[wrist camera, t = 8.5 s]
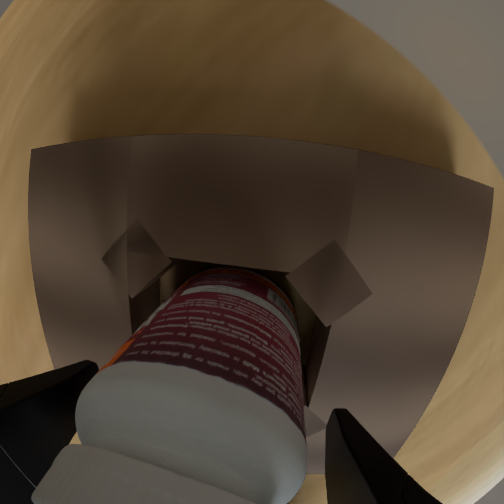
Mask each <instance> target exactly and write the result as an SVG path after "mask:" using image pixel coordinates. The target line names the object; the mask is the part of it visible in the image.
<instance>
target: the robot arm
mask: <svg viewBox="0 0 504 504" xmlns="http://www.w3.org/2000/svg"><path fill="white" fill-rule="evenodd" d="M98 371H99V368H98V365H97V363H95V362H93V361H90V360H83V361H80V362H77V363H74V364H71V365H68V366H65V367H61V368H58V369H55V370H52V371H48V372H45V373H42V374H38V375H35V376H31V377H28V378H25V379H21V380H17V381H14V382H10V383H9V384H8V383H6V384H3V385H0V504H34V503H33V501H32V499H31V497H32V494H33V492H34V491H35V489H36V488H37V486H38V485H39V483H40V482H41V480H42V479H43V477H44V476H45V475H46V473H47V472H48V470H49V469H50V467H51V466H52V464H53V462H54V460H55V458H56V457H57V456H58V454H59V453H60V451H61V450H62V449H63V448H64V447H65V446H67V445H69V443H70V441H71V440H72V438H73V436H74V435H75V433H76V431H77V430H76V422H75V411H76V405H77V401H78V398H79V396H80V394H81V392H82V390H83V389H84V388H85V386H86V385H87V384H88V383H89V381H90V380H91V379H92V378H93V377H94V376H95V375H96V374H97V373H98ZM325 478H326V489H327V500H328V504H442V503H441V502H440V501H438V500H437V499H436V498H434V497H433V496H432V495H431V494H429V493H428V492H427V491H426V490H425V489H423V488H422V487H421V486H420V485H419V484H418V483H417V482H416V481H415V480H414V479H413V478H412V477H411V476H410V475H408V473H407V472H406V471H405V470H404V469H403V468H402V467H401V466H400V465H399V464H398V463H397V462H396V461H395V460H394V459H393V458H392V457H391V456H390V455H389V454H388V452H387V451H386V450H385V449H384V448H383V447H382V446H381V445H380V444H379V443H378V442H377V441H376V440H375V439H374V438H373V437H372V436H371V434H370V433H369V432H368V431H367V430H366V429H365V428H364V427H363V426H362V425H361V424H360V423H359V422H358V420H357V419H356V418H355V417H354V416H353V415H352V414H351V413H350V412H349V411H348V410H347V409H346V408H334V409H333V410H332V413H331V415H330V418H329V420H328V422H327V425H326V434H325Z"/></svg>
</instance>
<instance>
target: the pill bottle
mask: <svg viewBox="0 0 504 504" xmlns="http://www.w3.org/2000/svg"><path fill="white" fill-rule="evenodd" d="M75 422H76V430H77V433H78V437H79V439H80V441H81V444H82V445H80V444H70V445H67V446H65V447H64V448H63V449H62V450H61V451H60V453H59V454H58V456H57V457H56V458H55V460H54V462H53V464H52V466H51V467H50V469H49V470H48V472H47V473H46V475H45V476H44V477H43V479H42V480H41V482H40V483H39V485H38V486H37V488H36V489H35V491H34V492H33V494H32V497H31V499H32V501H33V503H34V504H287V503H288V502H289V501H290V500H291V499H292V498H293V497H294V496H295V495H296V494H297V492H298V491H299V489H300V488H301V486H302V484H303V481H304V479H305V475H306V470H307V443H306V430H305V418H304V400H303V385H302V370H301V355H300V338H299V330H298V322H297V317H296V314H295V311H294V308H293V306H292V304H291V302H290V300H289V299H288V298H287V296H286V295H285V294H284V292H283V291H282V290H281V289H280V288H279V287H278V286H277V285H276V284H274V283H273V282H272V281H270V280H269V279H267V278H266V277H264V276H262V275H260V274H258V273H256V272H253V271H251V270H247V269H243V268H239V267H216V268H211V269H208V270H205V271H202V272H200V273H198V274H196V275H194V276H192V277H191V278H189V279H188V280H187V281H186V282H184V283H183V284H182V285H181V286H180V287H179V288H178V289H177V290H176V291H175V292H174V293H173V294H172V295H171V296H170V297H169V298H168V299H167V300H166V301H165V302H164V303H162V305H160V306H159V307H158V308H157V309H156V311H155V312H154V313H153V314H152V315H151V316H150V317H149V318H148V319H147V320H146V321H145V322H144V323H143V324H142V325H141V326H140V327H139V328H138V329H137V330H136V332H134V333H133V334H132V336H131V337H130V338H129V339H128V340H127V341H126V342H125V343H124V344H123V345H122V346H121V347H120V348H119V349H118V351H117V352H116V353H115V354H114V355H113V356H112V357H111V358H110V359H109V360H108V361H107V362H106V363H105V364H104V366H103V367H102V368H101V369H100V370H99V371H98V373H97V374H96V375H95V376H94V377H93V378H92V379H91V380H90V381H89V383H88V384H87V385H86V386H85V388H84V389H83V390H82V392H81V394H80V396H79V398H78V401H77V405H76V411H75Z"/></svg>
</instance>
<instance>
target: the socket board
mask: <svg viewBox="0 0 504 504" xmlns="http://www.w3.org/2000/svg"><path fill="white" fill-rule="evenodd" d="M493 193H494V188H492V187H489V186H487V185H484V184H482V183H479V182H476V181H473V180H470V179H468V178H465V177H462V176H459V175H456V174H453V173H449V172H446V171H443V170H440V169H436V168H433V167H429V166H426V165H422V164H418V163H415V162H411V161H407V160H403V159H399V158H395V157H390V156H386V155H381V154H377V153H372V152H367V151H362V150H357V149H351V148H346V147H340V146H334V145H327V144H321V143H314V142H306V141H298V140H289V139H280V138H269V137H256V136H241V135H219V134H161V135H139V136H124V137H112V138H102V139H93V140H85V141H77V142H70V143H64V144H58V145H52V146H46V147H41V148H36V149H31V158H30V171H29V191H28V220H29V241H30V253H31V263H32V272H33V279H34V286H35V292H36V298H37V303H38V308H39V313H40V318H41V322H42V326H43V331H44V335H45V338H46V342H47V346H48V349H49V353H50V356H51V359H52V363H53V366H54V369H58V368H61V367H65V366H68V365H71V364H74V363H77V362H80V361H83V360H90V361H93V362H95V363H97V365H98V368H99V370H100V369H101V368H102V367H103V366H104V364H105V363H106V362H107V361H108V360H109V359H110V358H111V357H112V356H113V355H114V354H115V353H116V352H117V351H118V349H119V348H120V347H121V346H122V345H123V344H124V343H125V342H126V341H127V340H128V339H129V338H130V337H131V336H132V334H133V333H134V332H136V330H137V329H138V328H139V327H140V326H141V325H142V324H143V323H144V322H145V321H146V320H147V319H148V318H149V317H150V316H151V315H152V314H153V313H154V312H155V311H156V309H157V308H158V307H159V306H160V290H159V278H160V277H161V276H163V275H164V274H165V273H166V272H167V271H168V270H169V269H170V268H172V267H173V266H174V265H175V264H176V263H177V262H178V261H179V260H181V259H186V260H193V261H201V262H209V263H217V264H225V265H233V266H241V267H249V268H257V269H265V270H274V271H282V272H285V277H286V278H287V279H288V281H289V282H290V283H291V284H292V286H293V287H294V288H295V289H296V290H297V292H298V293H299V294H300V295H301V297H302V298H303V299H304V300H305V302H306V303H307V304H308V305H309V307H310V308H311V309H312V310H313V312H314V313H315V314H316V315H317V318H316V322H315V327H314V332H313V336H312V341H311V345H310V350H309V354H308V358H307V363H306V367H305V368H304V367H303V366H301V370H302V385H303V400H304V418H305V430H306V443H307V470H306V474H325V434H326V425H327V422H328V420H329V418H330V415H331V413H332V410H333V409H334V408H346V409H347V410H348V411H349V412H350V413H351V414H352V415H353V416H354V417H355V418H356V419H357V420H358V422H359V423H360V424H361V425H362V426H363V427H364V428H365V429H366V430H367V431H368V432H369V433H370V434H371V436H372V437H373V438H374V439H375V440H376V441H377V442H378V443H379V444H380V445H381V446H382V447H383V448H384V449H385V450H386V451H387V452H388V454H389V455H390V456H391V457H392V458H394V456H395V455H396V454H397V452H398V451H399V450H400V448H401V447H402V445H403V444H404V443H405V441H406V440H407V438H408V437H409V435H410V434H411V432H412V431H413V429H414V428H415V426H416V424H417V423H418V421H419V420H420V418H421V416H422V415H423V413H424V411H425V410H426V408H427V406H428V404H429V403H430V401H431V399H432V397H433V395H434V394H435V392H436V390H437V388H438V386H439V384H440V382H441V380H442V378H443V376H444V374H445V372H446V370H447V367H448V365H449V363H450V361H451V359H452V356H453V354H454V352H455V349H456V347H457V345H458V342H459V340H460V337H461V334H462V332H463V329H464V326H465V324H466V321H467V318H468V315H469V312H470V309H471V306H472V302H473V299H474V296H475V292H476V289H477V285H478V281H479V278H480V274H481V269H482V265H483V261H484V256H485V251H486V246H487V240H488V234H489V228H490V221H491V213H492V204H493Z"/></svg>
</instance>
